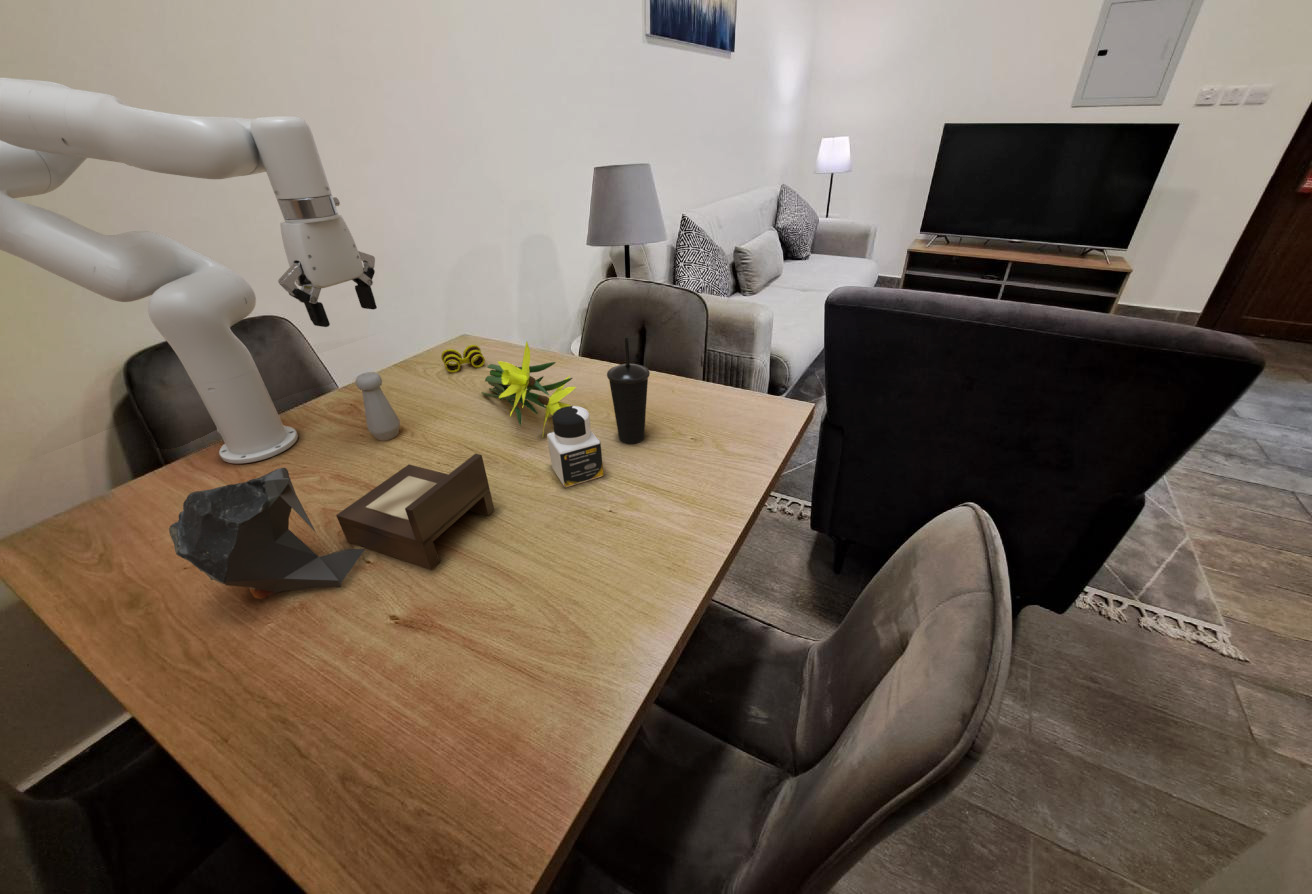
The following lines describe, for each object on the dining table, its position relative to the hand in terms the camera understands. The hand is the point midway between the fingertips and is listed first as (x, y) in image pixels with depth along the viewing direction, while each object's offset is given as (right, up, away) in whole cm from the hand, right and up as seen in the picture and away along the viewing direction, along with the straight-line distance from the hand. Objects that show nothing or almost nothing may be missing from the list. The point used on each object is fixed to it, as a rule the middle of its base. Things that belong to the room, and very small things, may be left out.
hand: (346, 316), depth 91 cm
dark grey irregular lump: (+4, -41, -19) cm, 46 cm away
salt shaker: (0, -20, +13) cm, 24 cm away
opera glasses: (+5, -3, +42) cm, 42 cm away
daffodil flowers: (+25, -16, +19) cm, 35 cm away
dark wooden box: (+18, -35, -11) cm, 40 cm away
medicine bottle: (+40, -27, +1) cm, 48 cm away
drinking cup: (+49, -21, +10) cm, 54 cm away
